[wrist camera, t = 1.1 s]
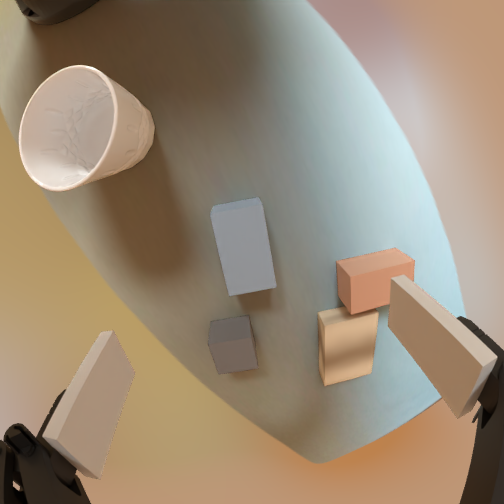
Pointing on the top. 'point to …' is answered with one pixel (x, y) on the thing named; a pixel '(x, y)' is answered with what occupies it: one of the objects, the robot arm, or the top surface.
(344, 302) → the terracotta block
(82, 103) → the white cup
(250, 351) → the charcoal block
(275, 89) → the top surface
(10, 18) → the top surface
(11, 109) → the top surface
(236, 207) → the blue block
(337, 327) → the maple block
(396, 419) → the top surface
